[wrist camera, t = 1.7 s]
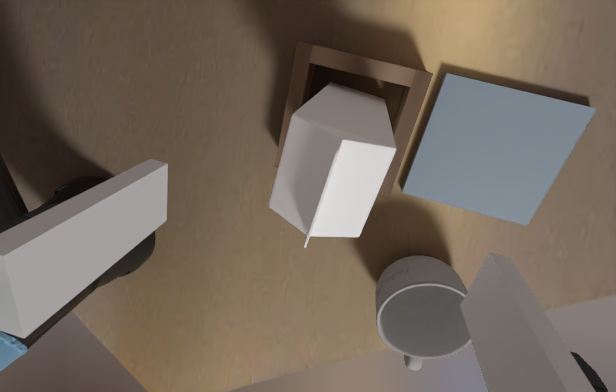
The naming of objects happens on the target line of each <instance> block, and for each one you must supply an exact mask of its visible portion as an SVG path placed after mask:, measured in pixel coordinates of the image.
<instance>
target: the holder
mask: <svg viewBox="0 0 616 392" xmlns="http://www.w3.org/2000/svg"><path fill="white" fill-rule="evenodd" d="M315 64H317V65H321V66H325V67H329V68H334V69H338V70H342V71H346V72H350V73H354V74H358V75H363V76H367V77H371V78H375V79H379V80H383V81H387V82H391V83H396V84H400V85H404V86H405V89H404V92H403V95H402V98H401V101H400V104H399V107H398V110H397V113H396V116H395V119H394V122H393V125H392V132H393V136H394V140H395V144H396V148H397V149H396V152H395V154H394V157H393V159H392V161H391V164H390V166H389V168H388V171H387V173H386V175H385V178H384V180H383V183H382V185H381V187H380V190H379V192H378V194H377V195H381V196H385V197H388V198H389V195H390V193H391V190H392V187H393V184H394V181H395V179H396V176H397V173H398V170H399V167H400V165H401V162H402V159H403V156H404V154H405V151H406V148H407V145H408V142H409V140H410V137H411V134H412V131H413V128H414V126H415V123H416V120H417V117H418V114H419V112H420V109H421V106H422V103H423V101H424V98H425V95H426V92H427V89H428V87H429V84H430V81H431V78H432V75H433V74H432V73H430V72H428V71H425V70H420V69H416V68H412V67H408V66H404V65H399V64H395V63H391V62H387V61H383V60H378V59H374V58H370V57H366V56H362V55H357V54H353V53H349V52H345V51H340V50H336V49H332V48H328V47H324V46H319V45H315V44H311V43H307V42H298V41H297V45H296V50H295V56H294V62H293V67H292V73H291V79H290V84H289V90H288V95H287V101H286V107H285V112H284V118H283V124H282V129H281V135H280V141H279V146H278V152H277V158H276V163H275V167H276V168H278V167H279V163H280V159H281V155H282V152H283V148H284V144H285V140H286V136H287V132H288V129H289V125H290V121H291V117H292V114H293V113H295V112H296V111H297V110H298V109H299V108H301V107H302V106H303V105H304V104H305V103H307V102H308V98H309V93H310V88H311V84H312V79H313V74H314V69H315Z"/></svg>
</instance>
